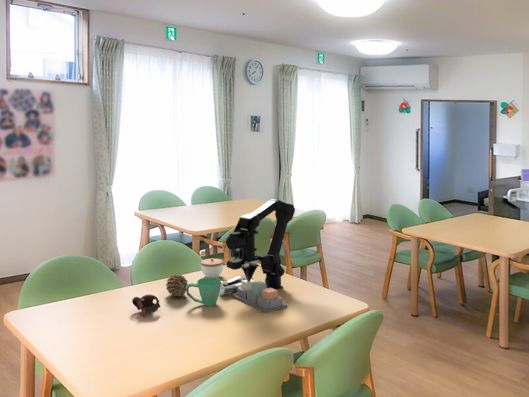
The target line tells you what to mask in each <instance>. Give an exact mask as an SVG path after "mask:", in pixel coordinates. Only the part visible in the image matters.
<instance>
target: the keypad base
mask: <svg viewBox="0 0 529 397" xmlns="http://www.w3.org/2000/svg"><path fill="white" fill-rule="evenodd" d="M232 298H235V299H236V300H238V301H241V302H242V303H244V304H246V305H249V306H250V307H252V308H254V309H257V310H258V311H261V312H262V313H265V314H267V313H270V312H273V311H278V310H282V309H285V308H288V304H286V303H284V302H283V297H282V296H280V295H277V298H276V299H272V300H266V299H264V298H262V294H261V295H255V294H253V293H251V290H248V291H246V290H244V289H242V288H241V286H240V287H238V288H237V292H236V293H232Z"/></svg>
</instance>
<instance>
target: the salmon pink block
mask: <svg viewBox="0 0 529 397" xmlns="http://www.w3.org/2000/svg"><path fill="white" fill-rule="evenodd" d="M277 296H278V289H273V288H266V289H263V290H262V298H264V299H266V300H272V299H276V298H277Z"/></svg>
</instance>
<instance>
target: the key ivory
mask: <svg viewBox="0 0 529 397" xmlns="http://www.w3.org/2000/svg"><path fill="white" fill-rule="evenodd" d="M253 282H257V281H256V280H254V279H253V280H252V279H251V280H250V281H247V280H242V281H241V288H242V289H244V290H246V291H248V290H251V283H253Z"/></svg>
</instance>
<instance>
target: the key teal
mask: <svg viewBox="0 0 529 397" xmlns="http://www.w3.org/2000/svg"><path fill="white" fill-rule="evenodd" d="M263 289H267V288H266V283H265V281H260V280H258V281H256V282H253V283H251V293H253V294H255V295H261V294H262V290H263Z"/></svg>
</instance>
